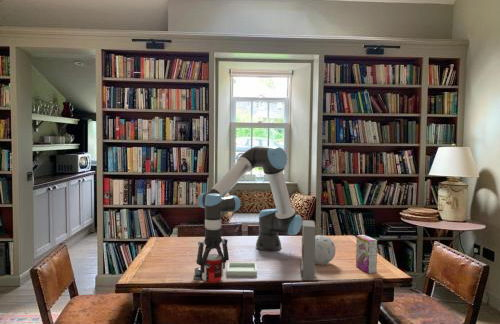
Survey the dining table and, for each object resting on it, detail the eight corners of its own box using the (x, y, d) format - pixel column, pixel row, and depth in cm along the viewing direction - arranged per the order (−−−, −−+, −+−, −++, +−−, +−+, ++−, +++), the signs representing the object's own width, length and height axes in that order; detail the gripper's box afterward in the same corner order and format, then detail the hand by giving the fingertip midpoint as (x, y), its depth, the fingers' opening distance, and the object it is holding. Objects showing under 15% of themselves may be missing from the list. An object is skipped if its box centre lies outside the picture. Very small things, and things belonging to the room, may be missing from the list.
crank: (196, 277, 169) (196, 265, 169) (193, 274, 172) (193, 263, 172) (225, 270, 178) (225, 259, 177) (221, 268, 181) (221, 257, 180)
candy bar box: (355, 266, 191) (356, 235, 190) (363, 265, 192) (364, 234, 192) (368, 274, 180) (369, 240, 179) (376, 273, 182) (377, 239, 181)
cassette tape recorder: (299, 270, 185) (300, 220, 184) (312, 270, 184) (313, 220, 183) (301, 280, 171) (302, 226, 170) (314, 280, 170) (315, 226, 169)
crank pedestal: (203, 276, 174) (203, 274, 174) (202, 280, 169) (202, 277, 169) (194, 276, 174) (194, 274, 174) (193, 280, 169) (193, 277, 169)
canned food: (204, 277, 173) (204, 254, 172) (221, 277, 174) (221, 253, 173) (203, 283, 165) (203, 259, 165) (221, 283, 166) (221, 259, 165)
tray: (255, 267, 188) (255, 262, 187) (256, 276, 175) (256, 271, 174) (228, 267, 187) (228, 262, 187) (227, 276, 174) (227, 271, 174)
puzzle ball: (329, 270, 184) (329, 240, 184) (301, 265, 192) (301, 236, 192) (339, 262, 197) (339, 234, 197) (312, 257, 205) (312, 230, 204)
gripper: (229, 224, 177) (229, 271, 178) (188, 228, 166) (188, 279, 167) (237, 227, 170) (236, 276, 171) (195, 232, 160) (194, 284, 161)
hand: (212, 277), depth 169 cm, fingers closed on canned food, 8 cm apart
